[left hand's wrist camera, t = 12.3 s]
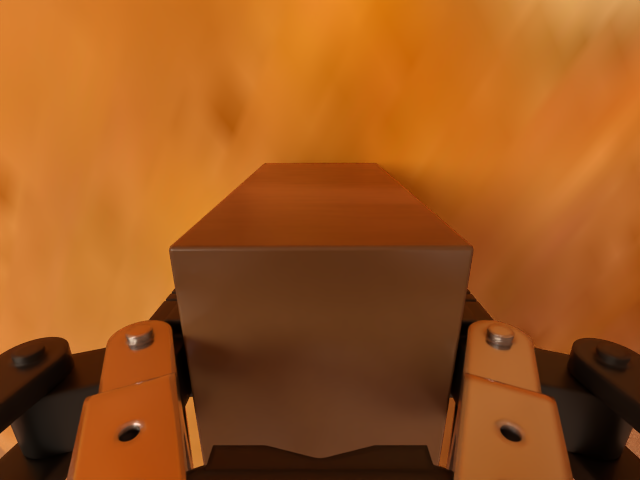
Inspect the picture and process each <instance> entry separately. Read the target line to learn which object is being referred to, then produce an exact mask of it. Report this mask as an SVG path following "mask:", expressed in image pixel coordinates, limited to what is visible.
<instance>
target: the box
mask: <svg viewBox="0 0 640 480" xmlns="http://www.w3.org/2000/svg"><path fill="white" fill-rule="evenodd" d="M169 253H170V259H171V265H172V271H173V277H174V284H175V290H176V296H177V302H178V308H179V314H180V321H181V327H182V333H183V339H184V345H185V351H186V358H187V364H188V370H189V376H190V382H191V388H192V394H193V401H194V407H195V413H196V419H197V425H198V431H199V438H200V444H201V450H202V456H203V462H204V465H207V462H208V459H209V456H210V453H211V450H212V447H213V445H267V446H271V447H275V448H279V449H283V450H287V451H291V452H295V453H299V454H303V455H307V456H311V457H315V458H325V457H329V456H333V455H337V454H341V453H345V452H349V451H353V450H357V449H361V448H365V447H369V446H373V445H427V447H428V450H429V453H430V456H431V459H432V462H433V465H437V466H439V460H440V454H441V447H442V441H443V435H444V429H445V423H446V416H447V410H448V404H449V398H450V392H451V386H452V379H453V373H454V367H455V361H456V355H457V349H458V342H459V336H460V330H461V324H462V318H463V311H464V305H465V299H466V293H467V287H468V281H469V274H470V268H471V262H472V256H473V247H472V245H470V244H469V243H468V242H467V241H466V240H465V239H463V238H462V237H461V236H460V235H459V234H458V233H457V232H455V231H454V230H453V229H452V228H451V227H450V226H448V225H447V224H446V223H445V222H444V221H443V220H441V219H440V218H439V217H438V216H437V215H436V214H435V213H433V212H432V211H431V210H430V209H429V208H428V207H426V206H425V205H424V204H423V203H422V202H421V201H419V200H418V199H417V198H416V197H415V196H414V195H413V194H411V193H410V192H409V191H408V190H407V189H406V188H404V187H403V186H402V185H401V184H400V183H399V182H397V181H396V180H395V179H394V178H393V177H392V176H390V175H389V174H388V173H387V172H386V171H385V170H384V169H382V168H381V167H380V166H379V165H378V164H376V163H265V164H263V165H262V166H261V167H260V168H259V169H258V170H256V171H255V172H254V173H253V174H252V175H251V176H250V177H249V178H247V179H246V180H245V181H244V182H243V183H242V184H241V185H239V186H238V187H237V188H236V189H235V190H234V191H233V192H232V193H230V194H229V195H228V196H227V197H226V198H225V199H224V200H222V201H221V202H220V203H219V204H218V205H217V206H216V207H215V208H213V209H212V210H211V211H210V212H209V213H208V214H207V215H205V216H204V217H203V218H202V219H201V220H200V221H199V222H198V223H196V224H195V225H194V226H193V227H192V228H191V229H190V230H188V231H187V232H186V233H185V234H184V235H183V236H182V237H181V238H179V239H178V240H177V241H176V242H175V243H174V244H173V245H171V246H170V249H169Z"/></svg>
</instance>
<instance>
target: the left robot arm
mask: <svg viewBox="0 0 640 480" xmlns="http://www.w3.org/2000/svg"><path fill="white" fill-rule="evenodd" d="M189 397H193V394H192V388H191V382H190V376H189V370H188V364H187V358H186V351H185V345H184V339H183V333H182V327H181V321H180V314H179V308H178V302H177V296H176V290H175V289H174V290H173V291H172V294H170V295H169V296H168V297H167V299H166V301H164V302H163V304H162V305H161V306H160V307H159V308H158V310H157V311H156V312H155V313H154V314H153V316H152V317H151V318H150V319H149V320H148V321H141V322H137V323H134V324H131V325H128V326H126V327H124V328H122V329H120V330H119V331H117V332H116V333H115V334H113V335H112V336H111V337H110V339H109V340H108V342H107V346H106V348H102V349H97V350H92V351H87V352H82V353H77V354H71V350H70V347H69V344H68V342H67V341H66V340H65V339H63V338H59V337H46V338H40V339H35V340H32V341H28V342H25V343H23V344H20V345H18V346H15V347H13V348H11V349H9V350H8V351H6V352H4V353H2V354H1V355H0V433H1V432H2V431H4V430H5V429H6V428H7V427H8V426H9V425H11V427H12V429H13V432H14V434H15V437H16V439H17V442H18V443H17V444H16V445H15V446H14V447H13V448H12V449H10V450H9V451H8V452H7V453H6V454H5V455H4V456H3V457H2V458H1V459H0V480H65V479H66V478H67V480H573V478H574V479H575V480H640V459H639V458H638V457H637V456H636V455H635V454H634V453H633V452H632V451H631V450H630V449H628V448H627V447H626V446H625V445H626V443H627V440H628V438H629V435H630V433H631V431H632V428H634V429H635V430H636V431H638V432H639V433H640V355H639V354H637V353H636V352H634V351H632V350H630V349H628V348H626V347H624V346H621V345H619V344H616V343H613V342H610V341H606V340H602V339H595V338H582V339H578V340H576V341H575V342H574V343H573V346H572V349H571V353H570V355H568V354H563V353H558V352H552V351H547V350H542V349H538V348H534V346H533V342H532V340H531V339H530V337H529V336H528V335H527V334H525V333H524V332H523V331H521V330H520V329H518V328H516V327H514V326H512V325H509V324H506V323H503V322H499V321H494V320H493V319H492V318H491V317H490V315H489V314H488V313H487V312H486V311H485V309H484V308H483V307H482V306H481V305H480V304H479V302H476V299H475V298H474V296H473V295H472V294H470V292H469V290H468V289H467V293H466V299H465V305H464V311H463V318H462V324H461V330H460V336H459V342H458V349H457V355H456V361H455V367H454V373H453V379H452V386H451V392H450V398H454V401H455V408H454V414H453V421H452V429H451V437H450V445H449V452H448V460H447V468H443V467H440V466H437V465H433V462H432V459H431V456H430V453H429V450H428V447H427V445H373V446H369V447H365V448H361V449H357V450H353V451H349V452H345V453H341V454H337V455H333V456H329V457H325V458H315V457H311V456H307V455H303V454H299V453H295V452H291V451H287V450H283V449H279V448H275V447H271V446H267V445H213V447H212V450H211V453H210V456H209V459H208V462H207V465H203V466H200V467H197V468H193V460H192V452H191V445H190V437H189V429H188V422H187V414H186V408H185V406H186V404H187V401H188V399H189Z"/></svg>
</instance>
